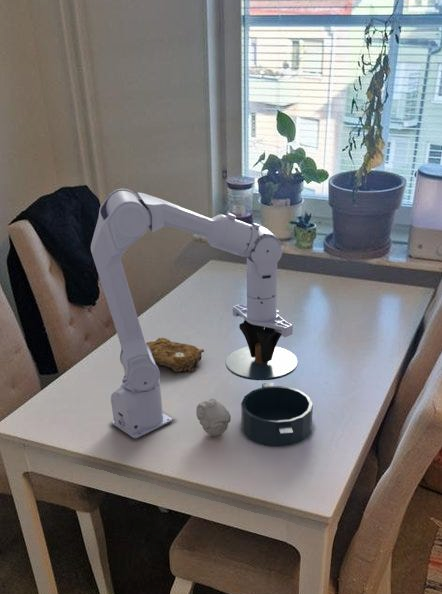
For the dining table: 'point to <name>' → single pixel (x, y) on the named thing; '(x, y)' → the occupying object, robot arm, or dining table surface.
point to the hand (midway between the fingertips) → (261, 358)
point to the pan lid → (261, 364)
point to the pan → (276, 415)
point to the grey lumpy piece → (213, 417)
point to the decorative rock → (175, 354)
